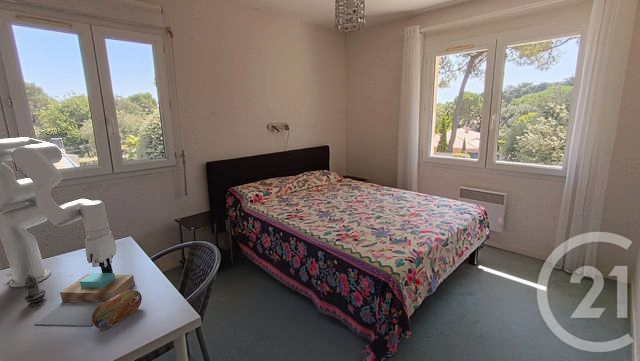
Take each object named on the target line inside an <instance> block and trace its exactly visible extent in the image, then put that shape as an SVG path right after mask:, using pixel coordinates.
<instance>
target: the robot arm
mask: <svg viewBox="0 0 640 361" xmlns="http://www.w3.org/2000/svg"><path fill="white" fill-rule="evenodd" d="M62 159H63V154H62V151H61V150H60V148H59V147H58V146H57V145H55V144H53V143H51V142H49V141H44V140H39V139H36V138H32V137H31V138H30V137H14V138H13V137H12V138H0V208H7V207H12V206H15V207H13V208H9V209H6V210H3V211H1V212H0V241H1V243H2V246H3V249H4V251H5V254H6V255H5V256H6V258H7V261H8V262H7V263H8V265H9V268H10V272H8V273H7V275H6V276H7V277H11V278H12V279H11V280H10V281H9V286H10V287H11V288H22V287H26V283H25V279H26V278H27V277H28V275H30V276H35V278H36V281H37V283H40V282H42V281H44V280H46V279H47V278H48V277H50V276H51V275H52V270H50V269H49V268H45V265H44V261H43V258H42V254H41V252H40V248H39V244H38V240H37V238H36V237H35V235H34V234H33V233H30V232H29V231H28V229H29V228H32V227H34V226H38V225H40V224H42V223H45V222H47V221H49V222H50V223H52V224H53V225H54V226H58V227H63V226H67V225H70V224H73V223H75V222H76V221H80V220H82V224H83V227H84V228H83V229H84V231H85V236H86V239H85V242H84V244H85V245H84V248H85V256H86V260H87V263H88V264H91V267H92V268H98V267H99V268H100V270H101V273H114V270H113V266H112V264H113V257H115V255H116V254H117V252H118V251H117V245H116V244H117V243H116V241H115V238H114V235H113V233H112V231H111V229H110V228H111V227H110V224H109V220H108V215H107V209H106V205H105V203H104V201H102V200H90V199H86V198H79V199H76V200H73V201H69V202H65V203H63V204H60V205H58V204H57V202H56V201H55V200H54V199H53V197H52V195H51V191H52V189H53V188H54V187H55V186H57V185H59V184H60V183H61V182H62V180H63V178H64V175H63V174H62V172H61V171H60V170H59V169H58V168H57V167H56V166H55V165H54V164H57V163H59V162H60V161H61V160H62ZM12 161H13V162H14V163H15V164H16V165H17V166H18V167H19V169H20V170H21V171H22V173H24V174H25V175H26V176H27V178H20V179H17V177H16V175H15V171H14V169H13V168H11V167H10V166H9V165H7V164H6V163H5V162H12ZM23 203H25V204H24V205H20V206H17V207H16V205H19V204H23Z"/></svg>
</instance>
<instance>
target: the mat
mask: <svg viewBox="0 0 640 361" xmlns="http://www.w3.org/2000/svg"><path fill="white" fill-rule="evenodd" d="M102 303H103V302H62V303H61V304H60V305H58V306H57V307H56V308H55V309H53V310H52V311H50V312H49V313H48V314H45V316H43V317H42V318H40V319H39V320H38V321H36V322H35V323H34V326H58V327H59V326H61V327H62V326H63V327H93V326H94V325H93V323H92V314H93V312H94V310H95V309H96V308H97V307H98V306H99V305H100V304H102Z"/></svg>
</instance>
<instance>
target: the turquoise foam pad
mask: <svg viewBox="0 0 640 361" xmlns="http://www.w3.org/2000/svg"><path fill="white" fill-rule="evenodd" d="M115 275H116V274H115V273H114V272H113V273H102V272H92V273H91V274H90V275H89V276H87V277H86V278H84V279H83V280H81V281H80V284H81V287H102V288H103V287H105V286H106V285H107V284H109V283H110V282H111V281H113V280H114V279H115Z"/></svg>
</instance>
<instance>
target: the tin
mask: <svg viewBox="0 0 640 361" xmlns="http://www.w3.org/2000/svg"><path fill="white" fill-rule="evenodd" d="M142 297H143V296H142V294H141V292H140V291H138V290H136V289H128V290H125V291H123V292H121V293H120V294H118V295H116V296H114V297H113V298H111V299H109V300H107V301H105V302H101V303H102V304H100V305H99V306H98V307H97V308H96V309H95V310H94V312H93V314H92V323H93V325H92V326H94V327H96V328H98V329H99V330H107V329H110V328H112V327H114V326H115V325H117V324H118V323H120V322H122V321H123V320H125V319H126V318H127V317H129V316H131V315H132V314H134V313H135V312H137V310H138V309H139V308H140V306H141V304H142Z"/></svg>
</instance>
